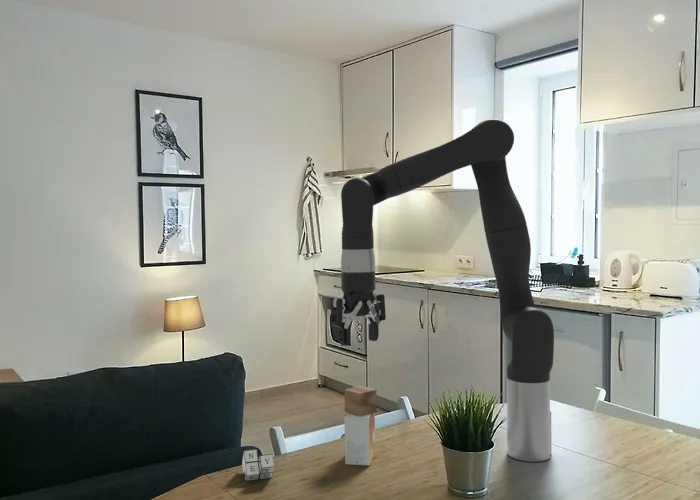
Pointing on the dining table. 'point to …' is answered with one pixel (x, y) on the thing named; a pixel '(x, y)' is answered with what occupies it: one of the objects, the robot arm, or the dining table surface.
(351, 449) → the small box
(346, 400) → the walnut cube
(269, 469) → the building blocks
